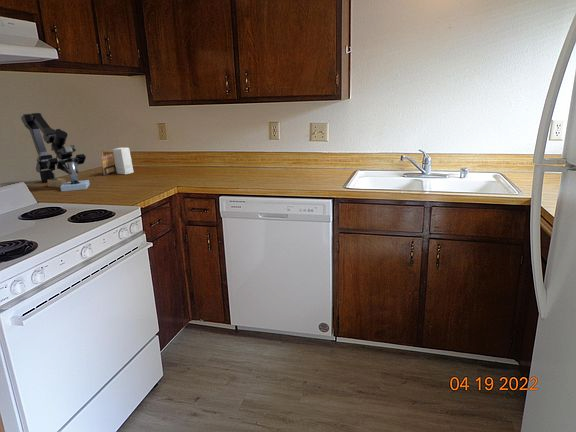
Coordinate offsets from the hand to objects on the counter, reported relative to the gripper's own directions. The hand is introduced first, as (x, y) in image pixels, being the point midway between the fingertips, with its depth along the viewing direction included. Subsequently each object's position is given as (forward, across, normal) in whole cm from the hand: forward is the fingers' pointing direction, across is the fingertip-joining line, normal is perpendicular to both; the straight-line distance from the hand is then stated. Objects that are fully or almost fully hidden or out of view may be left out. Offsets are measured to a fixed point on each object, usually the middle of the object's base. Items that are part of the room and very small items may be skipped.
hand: (74, 173), depth 221 cm
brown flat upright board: (-9, +31, +21) cm, 38 cm away
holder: (+5, 0, +6) cm, 8 cm away
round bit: (+4, 0, +6) cm, 7 cm away
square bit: (-6, -3, +18) cm, 19 cm away
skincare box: (-4, +36, +16) cm, 40 cm away
